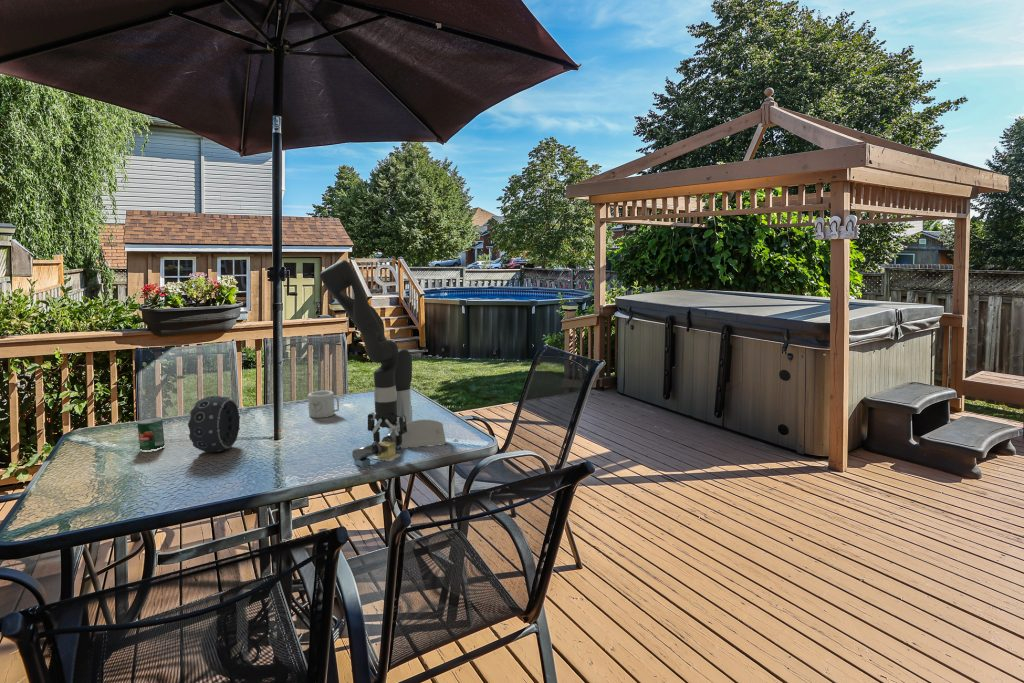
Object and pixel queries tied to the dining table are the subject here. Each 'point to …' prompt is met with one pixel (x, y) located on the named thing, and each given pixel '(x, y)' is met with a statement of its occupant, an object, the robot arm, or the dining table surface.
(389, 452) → the block
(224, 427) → the dark grey drum piece
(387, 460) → the plate
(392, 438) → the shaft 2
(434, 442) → the grey rounded block
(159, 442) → the canned tomato
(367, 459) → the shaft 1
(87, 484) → the dining table surface
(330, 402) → the mug
